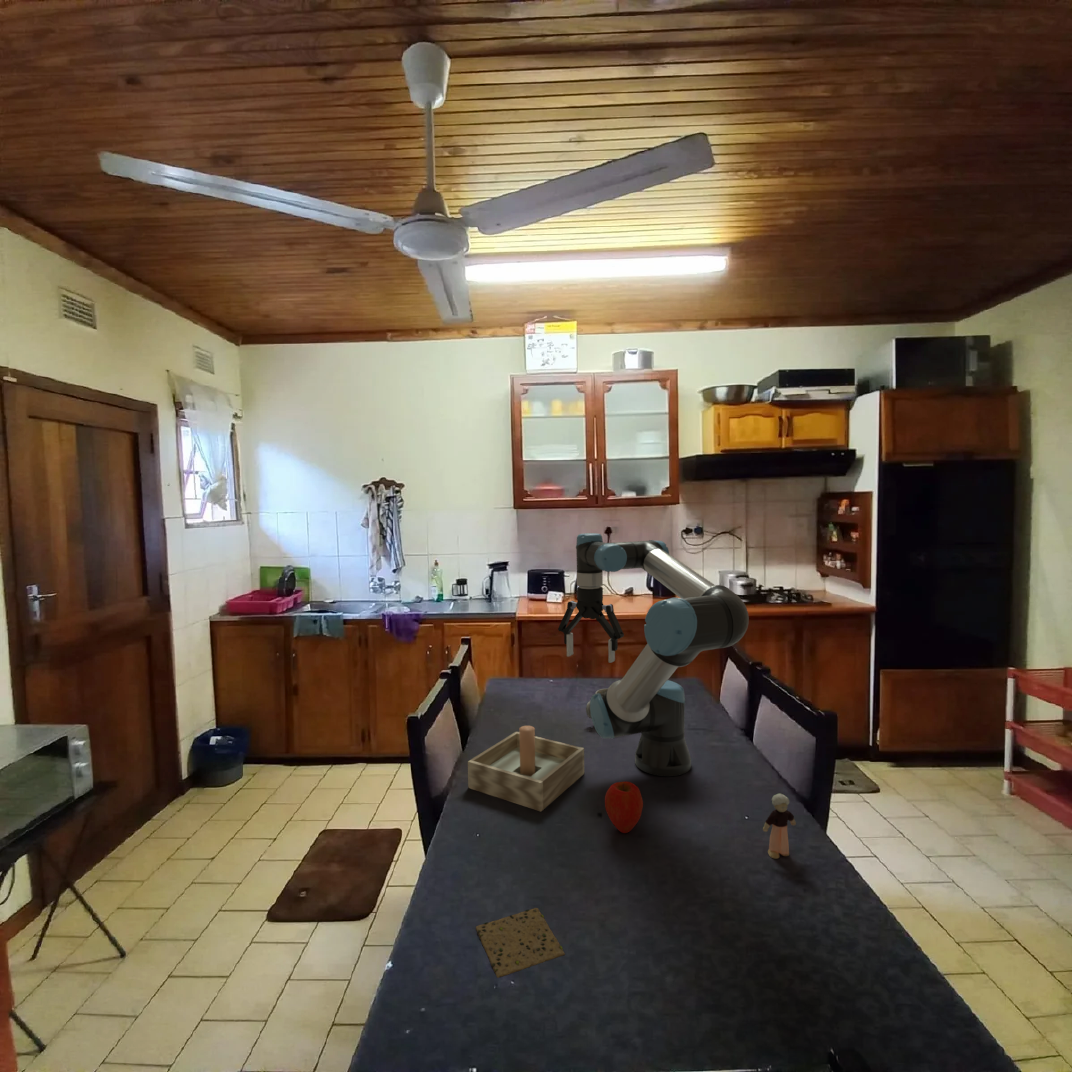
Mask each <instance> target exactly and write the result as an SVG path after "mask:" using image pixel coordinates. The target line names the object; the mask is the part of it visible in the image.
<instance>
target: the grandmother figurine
mask: <svg viewBox="0 0 1072 1072" xmlns="http://www.w3.org/2000/svg"><path fill="white" fill-rule="evenodd" d="M771 801H772V802H771V804H772V805H773V807H774V810H772V812H771V813H770V814H769V815H768V817H767V819H766V820H765V822H764V826H763V827H762V831H763V832H764V833H767V832H768V831H769V828H771V832H770V835H769V845H768V850H767V853H768V855H769V857H770V858H771V859H774V860H775V859H779V858H780V855H781V856H783V857H788V856H790V849H789V848H790V847H789V835H788V833H789V832H788V821H789V822H790V825H791V826H796V825H797V822H796V820H795V816H794V815H793V813H792V812H791V811H789V810H787V809H788V805H789V804H790V799H789V797H787V796H786V795H784V794H782V793H777V794H774V795H773V796H772V798H771ZM771 826H772V827H771Z"/></svg>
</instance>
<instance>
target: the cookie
mask: <svg viewBox="0 0 1072 1072" xmlns="http://www.w3.org/2000/svg"><path fill="white" fill-rule="evenodd" d="M475 931H476V934H477V935H478V938H479V939H480V942H481V945H482V946H483V948H484V951H485V953H486V955H487V958H488V960H489V963H490V966H491V968H492V970H493V972H494V974H495V977H496V978H498V979H499V978H501V977H505V976H508V975H512V974H514V973H516V972H520V971H522V970H525V969H527V968H530V967H533V966H536V965H539V964H543V963H546V962H548V961H551V960H553V959H557V958H560V957H563V956H565V954H566V953H565V951H564V949H563V948H564V947H563V946H562V945H561V944H560V942H559V941H558V938H557V937H556V936H555V935H554V933H553V931H552V929H551V928H550V926H549V924H548V923H547V920H546V919H545V916H544V914H542V913H541V912H540V909H539V908H538V907H534V908H531V909H526V910H524V911H519V912H518V913H515V914H510V915H509V916H505V917H502V918H500V919H496V920H492V921H490V922H488V921H487V922H484V923H483V924H478V925H476V926H475Z"/></svg>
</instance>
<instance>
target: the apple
mask: <svg viewBox="0 0 1072 1072" xmlns="http://www.w3.org/2000/svg"><path fill="white" fill-rule="evenodd" d="M641 793H642V792H641V790H640V788H639V786H637V785H636V784H635V783H633V782H631V781H617V782H614V783H612V784H611V785H610V786H609V788H608V789H607V790H606V792H605V795H604V807H605V811H606V813H607V816H608V818H609V820H610V821H611V823H612V824H613V826H614V827H615V829H617V830H618V831H619V832H621V833H622V834H627V833H630V832H631V831H632V830H633V829H634V827H636V825H637V823H639V821H640V819H641V816H642V812H643V807H644V801H643V797H642V794H641Z"/></svg>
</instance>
